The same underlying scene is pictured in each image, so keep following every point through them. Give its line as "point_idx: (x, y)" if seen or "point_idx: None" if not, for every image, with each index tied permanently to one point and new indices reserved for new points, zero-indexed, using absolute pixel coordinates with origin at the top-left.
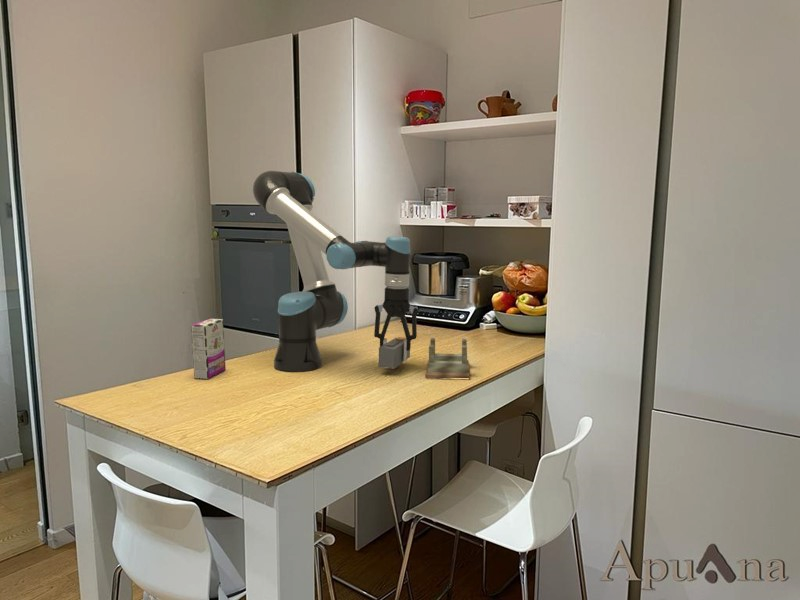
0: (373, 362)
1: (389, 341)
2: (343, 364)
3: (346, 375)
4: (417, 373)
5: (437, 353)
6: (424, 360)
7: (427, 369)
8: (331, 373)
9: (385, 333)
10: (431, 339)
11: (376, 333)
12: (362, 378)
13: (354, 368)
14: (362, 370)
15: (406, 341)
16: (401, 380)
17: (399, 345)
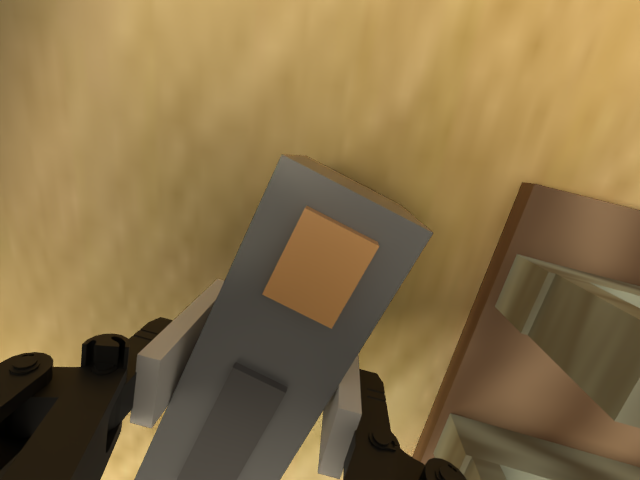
0: (187, 125)
1: (203, 334)
2: (29, 150)
3: (72, 359)
4: (391, 390)
5: (606, 289)
6: (515, 112)
7: (445, 415)
8: (5, 316)
9: (107, 424)
10: (636, 405)
11: (6, 455)
12: None
13: (93, 245)
14: (134, 290)
15: (339, 476)
16: (297, 474)
17: (277, 470)
